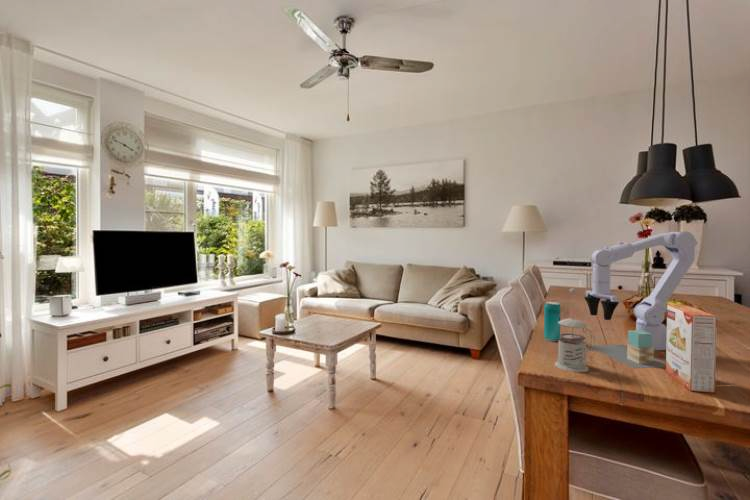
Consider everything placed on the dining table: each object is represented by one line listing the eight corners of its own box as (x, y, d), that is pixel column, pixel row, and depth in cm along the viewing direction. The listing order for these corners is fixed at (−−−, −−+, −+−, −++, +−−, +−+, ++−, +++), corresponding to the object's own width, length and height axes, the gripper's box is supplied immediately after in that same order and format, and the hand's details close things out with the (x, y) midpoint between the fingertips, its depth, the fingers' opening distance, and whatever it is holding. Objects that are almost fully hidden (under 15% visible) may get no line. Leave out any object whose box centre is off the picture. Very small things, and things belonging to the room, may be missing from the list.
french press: (549, 360, 122) (550, 286, 121) (584, 361, 122) (586, 286, 120) (563, 372, 112) (564, 290, 111) (602, 372, 112) (603, 290, 111)
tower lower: (640, 357, 123) (641, 350, 123) (653, 363, 118) (653, 355, 118) (626, 358, 123) (627, 351, 123) (638, 363, 118) (639, 356, 118)
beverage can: (561, 342, 142) (562, 304, 141) (545, 341, 143) (546, 303, 143) (557, 338, 148) (558, 301, 147) (542, 337, 149) (542, 301, 148)
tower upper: (641, 350, 123) (641, 343, 123) (653, 355, 118) (653, 347, 118) (627, 351, 123) (627, 343, 123) (639, 356, 118) (639, 348, 118)
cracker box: (663, 372, 111) (666, 304, 110) (687, 374, 110) (690, 305, 109) (688, 391, 98) (690, 313, 97) (716, 394, 96) (718, 315, 95)
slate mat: (621, 345, 138) (621, 344, 138) (676, 367, 115) (676, 366, 115) (585, 346, 137) (585, 345, 137) (634, 369, 114) (634, 368, 114)
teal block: (640, 343, 123) (640, 330, 123) (651, 347, 119) (651, 333, 118) (627, 343, 123) (627, 330, 123) (638, 347, 118) (638, 334, 118)
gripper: (579, 279, 146) (578, 313, 146) (604, 284, 131) (604, 322, 132) (595, 279, 146) (595, 313, 147) (623, 284, 132) (622, 321, 132)
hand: (600, 317), depth 139 cm, fingers open, 7 cm apart
